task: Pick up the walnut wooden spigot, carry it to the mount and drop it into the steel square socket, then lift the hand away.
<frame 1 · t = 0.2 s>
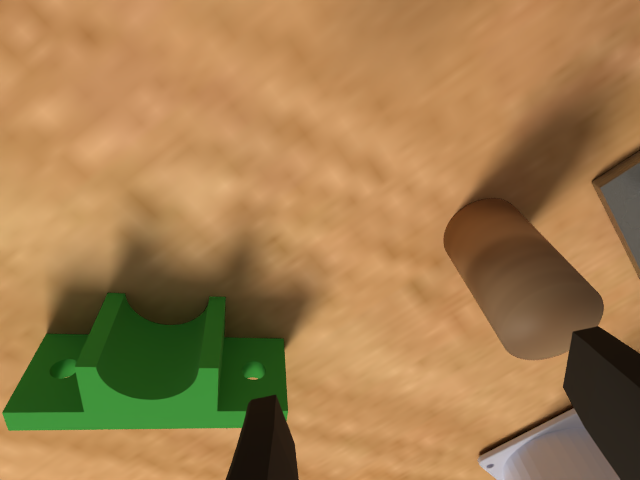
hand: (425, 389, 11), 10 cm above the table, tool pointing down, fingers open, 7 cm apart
spigot: (481, 233, 21), on the table
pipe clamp: (172, 322, 22), on the table
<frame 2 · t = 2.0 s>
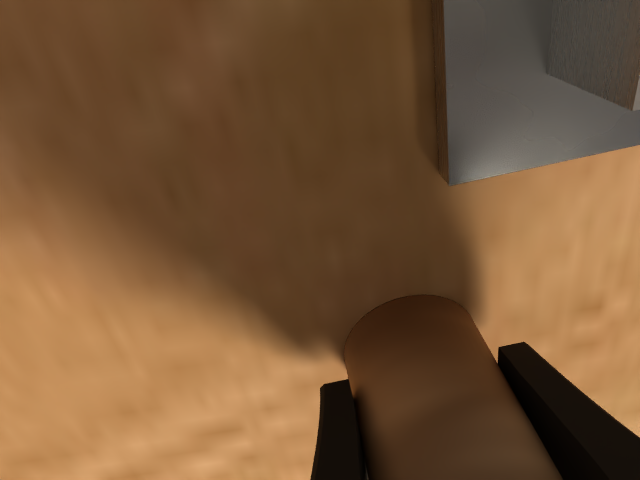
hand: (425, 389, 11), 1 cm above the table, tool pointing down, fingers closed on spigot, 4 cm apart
spigot: (409, 346, 12), on the table, touching gripper
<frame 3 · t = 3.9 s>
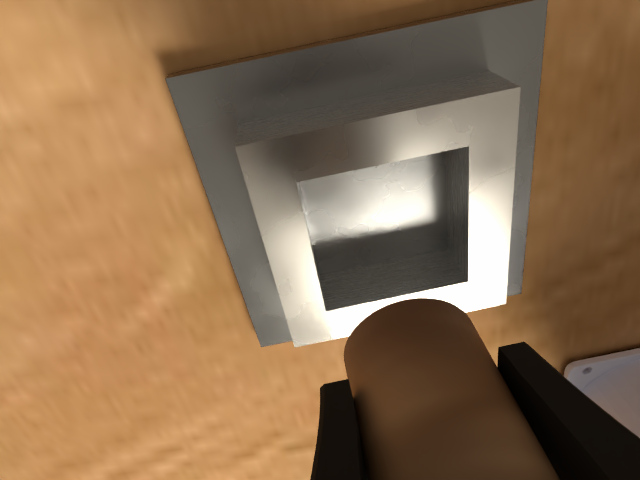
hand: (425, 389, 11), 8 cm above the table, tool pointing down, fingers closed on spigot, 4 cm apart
spigot: (409, 349, 12), point 7 cm above the table, touching gripper
mount: (373, 198, 18), on the table
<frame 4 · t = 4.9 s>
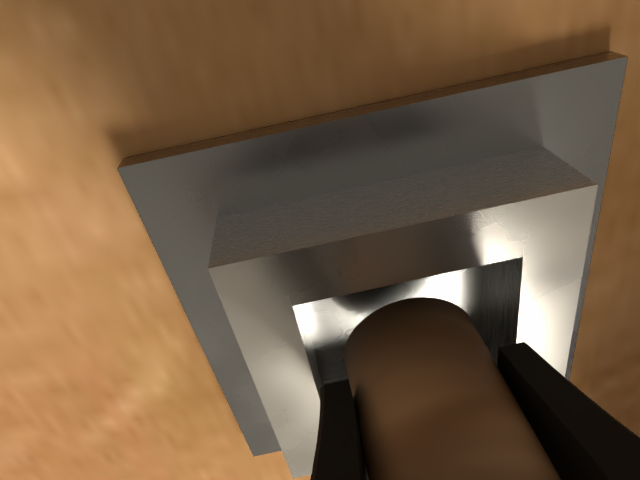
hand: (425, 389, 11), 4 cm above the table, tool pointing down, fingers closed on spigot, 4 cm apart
spigot: (409, 348, 12), point 2 cm above the table, touching gripper
mount: (390, 292, 14), on the table
when the fingers open (4 cm above the table, at t = 5.7 s): spigot drops 2 cm, resting on mount.
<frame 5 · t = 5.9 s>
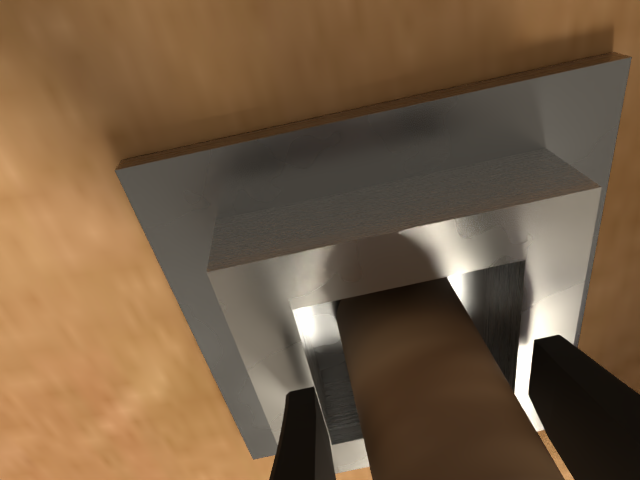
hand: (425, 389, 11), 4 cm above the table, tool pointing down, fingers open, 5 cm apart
spigot: (395, 311, 14), point 1 cm above the table, touching mount
mount: (390, 295, 14), on the table
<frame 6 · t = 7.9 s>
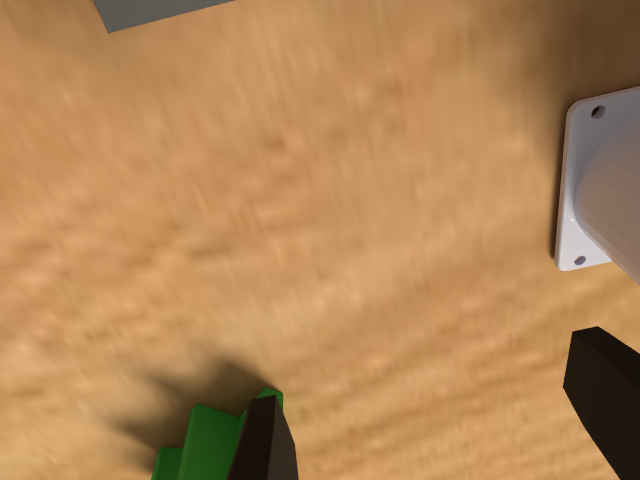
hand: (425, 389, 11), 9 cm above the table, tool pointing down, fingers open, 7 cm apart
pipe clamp: (209, 432, 27), on the table
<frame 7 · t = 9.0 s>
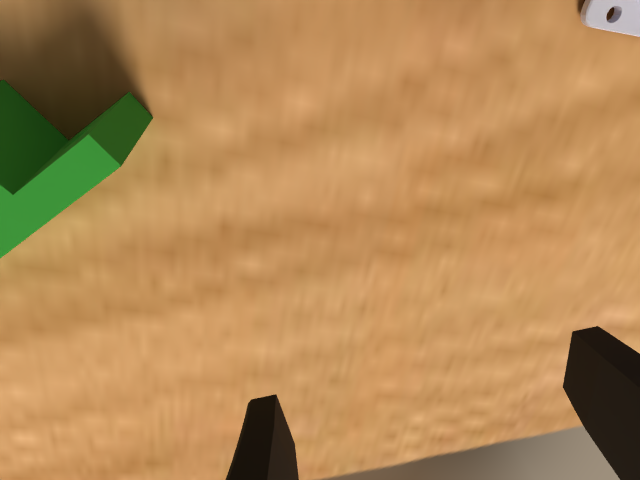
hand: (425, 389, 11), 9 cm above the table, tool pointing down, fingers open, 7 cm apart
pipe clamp: (11, 162, 17), on the table
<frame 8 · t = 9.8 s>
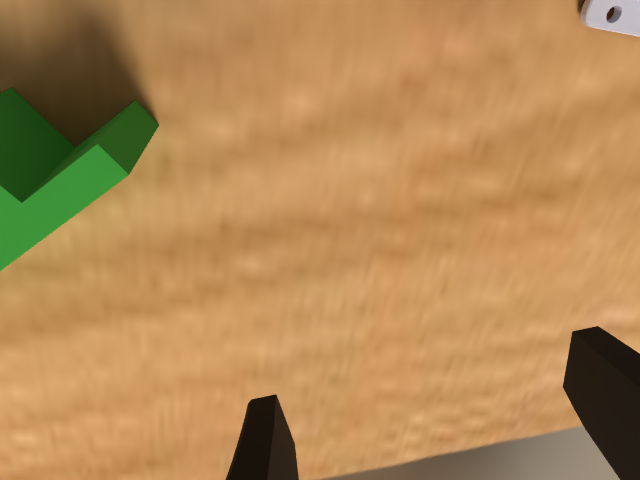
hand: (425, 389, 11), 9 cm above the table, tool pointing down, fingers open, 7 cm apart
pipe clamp: (17, 169, 17), on the table
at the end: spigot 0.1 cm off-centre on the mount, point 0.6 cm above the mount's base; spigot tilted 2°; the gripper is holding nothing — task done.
